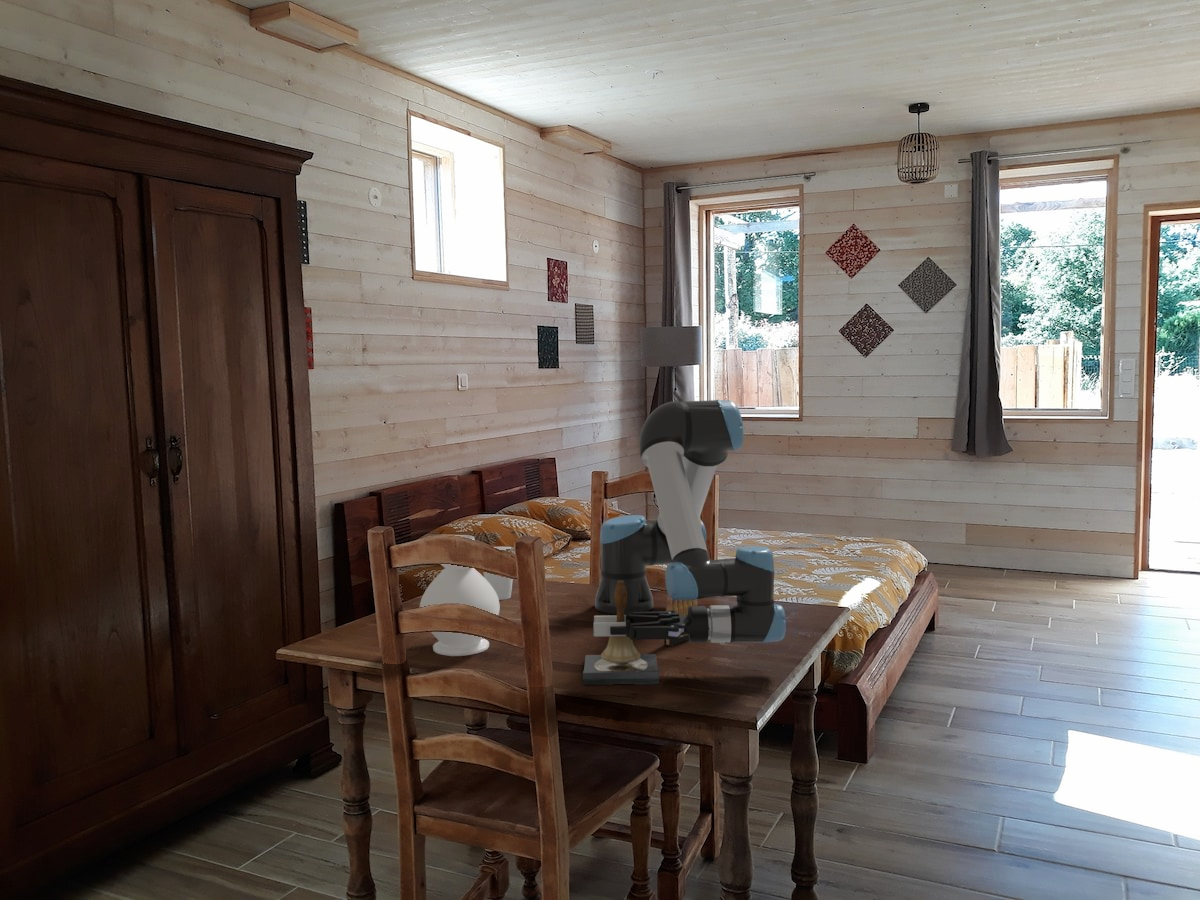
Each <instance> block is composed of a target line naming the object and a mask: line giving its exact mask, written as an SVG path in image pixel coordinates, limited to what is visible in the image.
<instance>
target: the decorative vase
mask: <svg viewBox="0 0 1200 900" xmlns="http://www.w3.org/2000/svg"><path fill="white" fill-rule="evenodd" d="M454 535H455V536H461V537H465V538H469V539H472V540H474V541H475V536H473V535H469V534H454ZM440 565H441V567H443V569H442V571H440V572H439V574H438V575H437V576H436V577H434V578H433V580H432V581H431V583H430V584H429V585H428V586H427V588H426V589H425V591H424V593H423V594H422V597H421V598H420V599H421V600H420V603H419V608H420V607H424V606H428V605H433V604H443V603H459V604H466V605H470V606H474V607H476V608H479V609H482V610H485V611H488V612H490V613H493V614H496V615H498V616H499V615H500V609H501V607H500V600H499V599H498V596H497V594H496V592H495V590H494V589H493V587H492V586H491V585H490V583H489V582H488V581H487V580H486V579H485V578H484V575H482V574H481V573H480V572H479V571H477V569H475V568H474V567H473V568H469V567H463V566H457V565H451V564H440ZM430 633H431V634H432V635H433V636H434V637H435V638H436V639H437V641H436V642H435V643H434V644H433V645H432V649H433V652H434V653H436V654H438V655H442V656H449V657H462V656H470V655H471V656H472V655H474V654H479V653H481V652H485V651H486V650H488V649H489V647H490V641H489V640H487V639H485V638H484V637H483V638H482V637H478V636H474V635H468V634H462V633H452V632H430Z"/></svg>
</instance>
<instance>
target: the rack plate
mask: <svg viewBox="0 0 1200 900" xmlns="http://www.w3.org/2000/svg"><path fill="white" fill-rule="evenodd" d="M640 654H641V653H640ZM584 658H585V659H584V668H583V671H582V685H583V686H611V685H612V686H614V685H613V684H635V685H660V671H659V670H660V669H659V668H658V660H657V654H655V653H651V654H650V653H647V654H646V653H644V654H643V653H642V654H641V658H640V659H638V660H636V661H633V662H626V663H615V662H609V661H606V660H603V659H602V658H601V654H586V655H585V657H584ZM658 669H659V670H658Z"/></svg>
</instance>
